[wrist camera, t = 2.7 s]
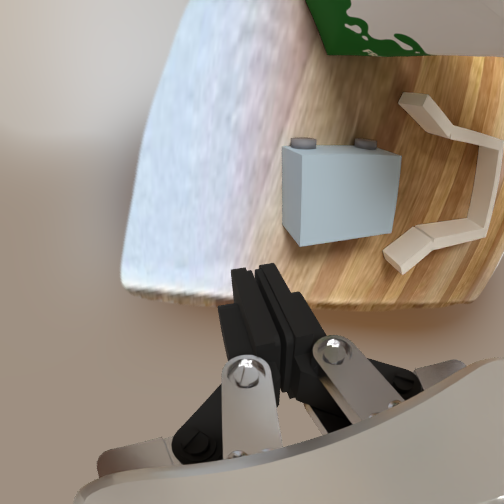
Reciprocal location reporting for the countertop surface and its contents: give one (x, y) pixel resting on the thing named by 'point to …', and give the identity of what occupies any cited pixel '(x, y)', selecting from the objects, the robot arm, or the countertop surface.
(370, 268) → the countertop surface
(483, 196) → the bay
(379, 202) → the grey boxy piece
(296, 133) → the countertop surface
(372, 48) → the milk carton
